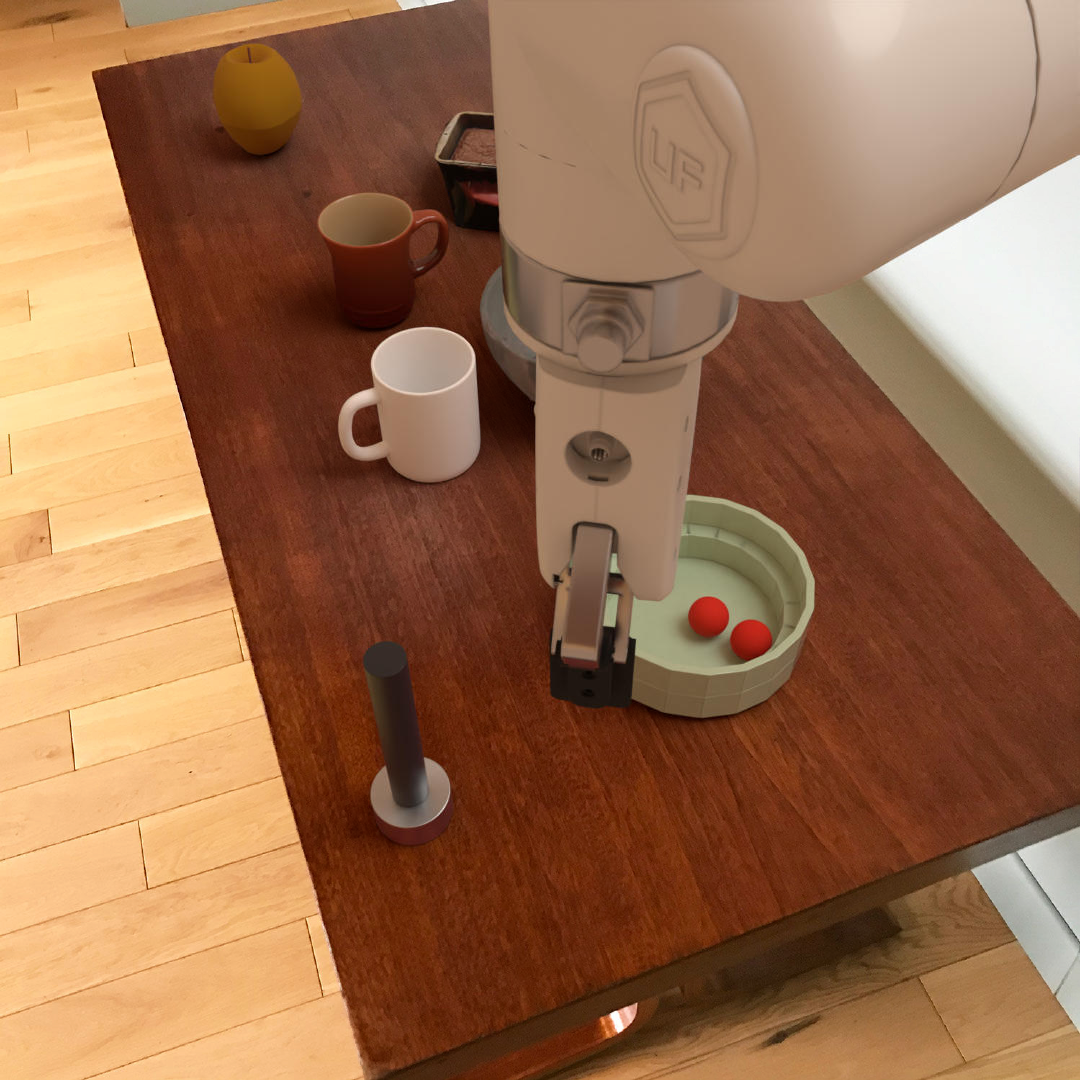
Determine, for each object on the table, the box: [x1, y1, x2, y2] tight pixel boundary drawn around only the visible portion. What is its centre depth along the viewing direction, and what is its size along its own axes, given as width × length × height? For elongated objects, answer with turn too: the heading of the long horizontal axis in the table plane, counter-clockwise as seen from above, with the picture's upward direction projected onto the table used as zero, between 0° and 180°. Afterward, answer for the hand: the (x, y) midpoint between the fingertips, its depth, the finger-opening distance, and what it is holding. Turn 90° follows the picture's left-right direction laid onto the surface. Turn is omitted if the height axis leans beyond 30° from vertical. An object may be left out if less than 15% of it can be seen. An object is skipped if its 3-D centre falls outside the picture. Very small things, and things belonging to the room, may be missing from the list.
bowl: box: [479, 265, 706, 403], centre depth 98 cm, size 20×20×10 cm
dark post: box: [362, 640, 454, 846], centre depth 67 cm, size 5×5×18 cm
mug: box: [316, 192, 450, 329], centre depth 105 cm, size 12×9×10 cm
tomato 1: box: [688, 596, 729, 637], centre depth 82 cm, size 3×3×3 cm
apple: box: [212, 43, 303, 156], centre depth 124 cm, size 10×10×12 cm
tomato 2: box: [730, 619, 772, 661], centre depth 80 cm, size 3×3×3 cm
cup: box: [337, 326, 481, 484], centre depth 92 cm, size 8×12×10 cm
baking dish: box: [433, 111, 500, 231], centre depth 118 cm, size 14×18×10 cm
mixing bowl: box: [603, 494, 816, 719], centre depth 81 cm, size 16×16×6 cm
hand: (606, 603), depth 48 cm, fingers open, 9 cm apart
